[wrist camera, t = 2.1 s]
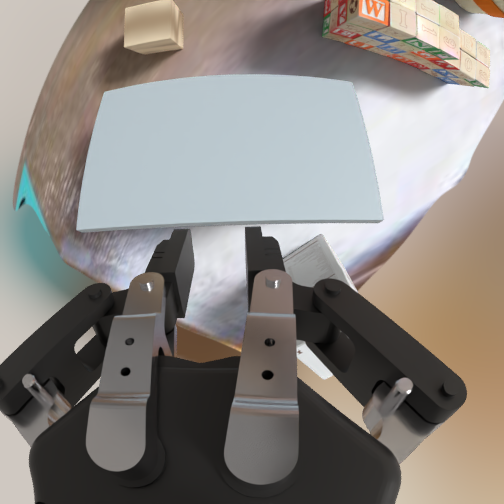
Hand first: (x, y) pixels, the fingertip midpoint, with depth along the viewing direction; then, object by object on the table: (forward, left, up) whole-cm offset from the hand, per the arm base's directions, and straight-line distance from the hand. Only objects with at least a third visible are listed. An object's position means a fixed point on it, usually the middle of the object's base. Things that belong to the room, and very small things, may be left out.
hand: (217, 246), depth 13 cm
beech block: (-16, -8, -24) cm, 30 cm away
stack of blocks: (-18, +22, -24) cm, 38 cm away
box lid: (-3, 0, -11) cm, 12 cm away
